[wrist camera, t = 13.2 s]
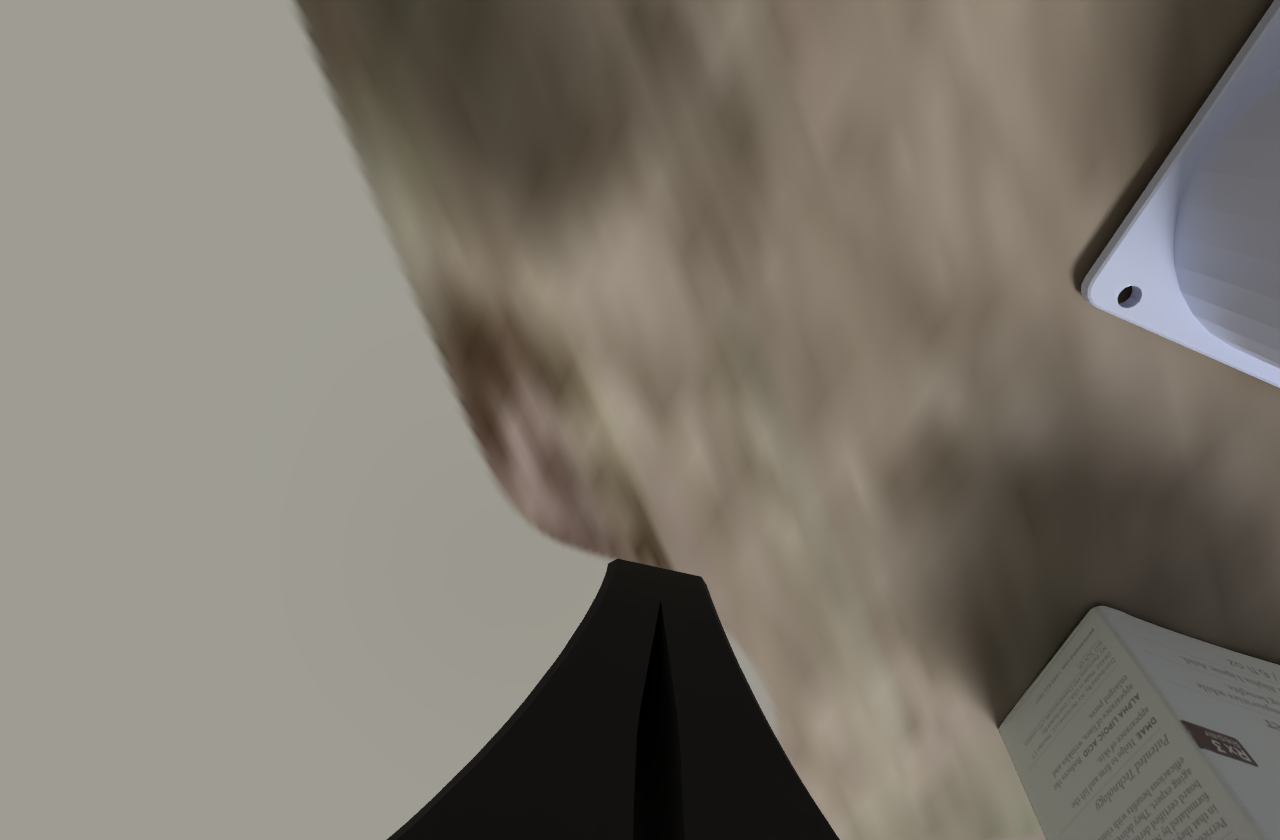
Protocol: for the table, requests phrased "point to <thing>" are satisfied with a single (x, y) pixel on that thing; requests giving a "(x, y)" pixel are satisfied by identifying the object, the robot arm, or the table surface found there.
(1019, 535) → the table surface
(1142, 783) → the skincare box
